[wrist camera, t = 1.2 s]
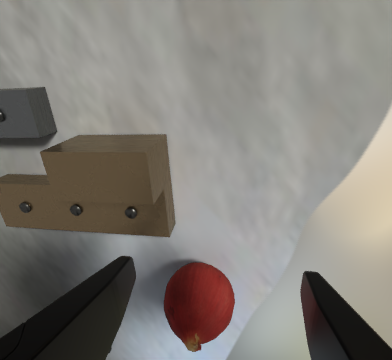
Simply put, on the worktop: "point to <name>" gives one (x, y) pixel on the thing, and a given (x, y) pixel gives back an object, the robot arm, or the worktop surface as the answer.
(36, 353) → the robot arm
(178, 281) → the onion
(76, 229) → the wooden block
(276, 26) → the worktop surface
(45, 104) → the leaf fixed
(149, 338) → the worktop surface
